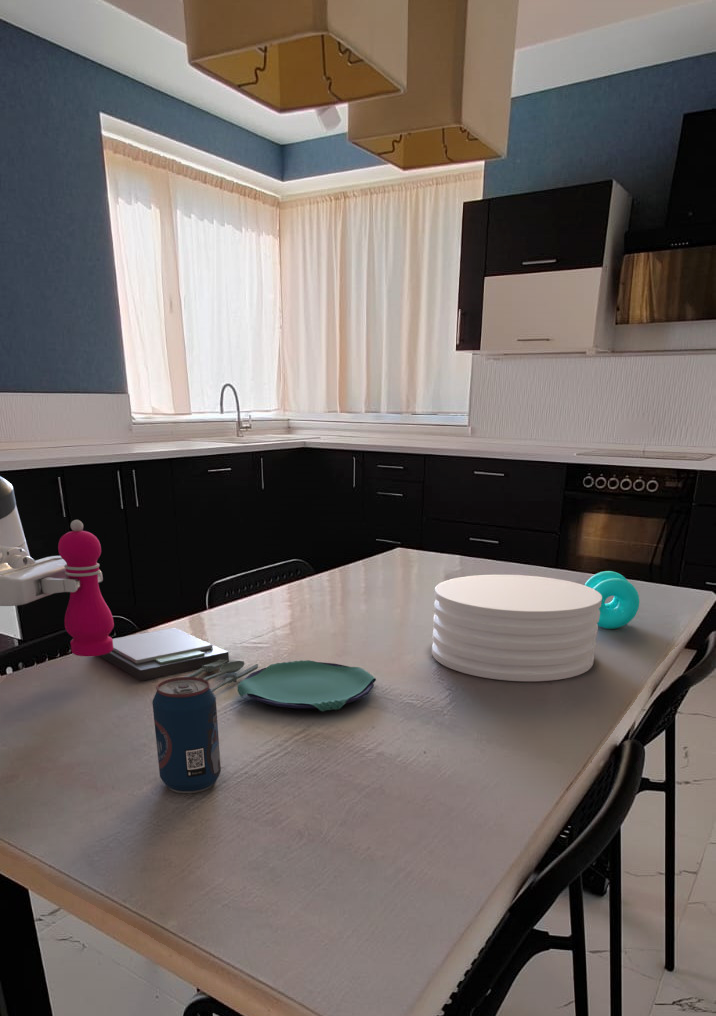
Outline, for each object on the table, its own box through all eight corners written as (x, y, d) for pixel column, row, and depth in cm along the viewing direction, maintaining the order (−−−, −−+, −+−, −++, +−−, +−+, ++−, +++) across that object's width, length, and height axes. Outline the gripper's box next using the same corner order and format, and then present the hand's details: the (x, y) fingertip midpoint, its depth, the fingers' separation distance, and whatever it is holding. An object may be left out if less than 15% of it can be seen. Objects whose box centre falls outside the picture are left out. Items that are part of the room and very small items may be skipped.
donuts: (625, 618, 160) (633, 570, 156) (636, 631, 151) (644, 580, 147) (577, 616, 161) (582, 569, 157) (584, 629, 152) (591, 579, 148)
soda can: (155, 775, 91) (145, 679, 86) (213, 765, 94) (206, 672, 89) (167, 800, 85) (157, 699, 81) (228, 789, 88) (221, 691, 83)
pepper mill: (123, 645, 124) (109, 517, 116) (105, 658, 117) (89, 523, 109) (80, 643, 124) (63, 516, 117) (60, 656, 118) (40, 522, 110)
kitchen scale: (96, 654, 134) (94, 641, 133) (179, 638, 144) (178, 626, 143) (141, 681, 122) (140, 666, 121) (229, 662, 131) (228, 648, 130)
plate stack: (475, 626, 154) (479, 568, 149) (614, 650, 139) (623, 587, 135) (402, 660, 133) (404, 594, 128) (558, 693, 118) (566, 620, 114)
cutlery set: (340, 727, 105) (340, 711, 104) (159, 695, 116) (158, 680, 115) (392, 683, 122) (393, 669, 121) (230, 658, 133) (230, 645, 132)
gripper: (51, 582, 130) (125, 587, 127) (-32, 611, 111) (53, 618, 108) (45, 544, 127) (121, 548, 124) (-41, 567, 109) (46, 573, 106)
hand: (89, 581), depth 116 cm, fingers closed on pepper mill, 5 cm apart
